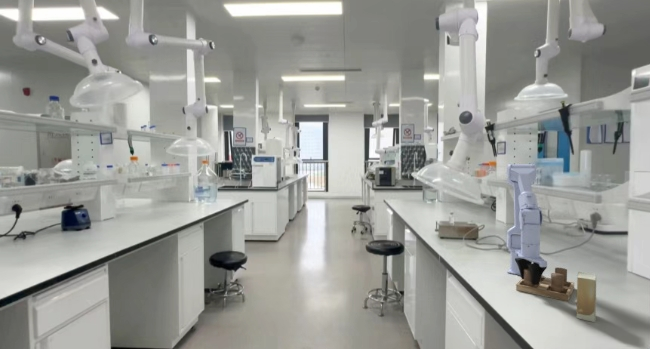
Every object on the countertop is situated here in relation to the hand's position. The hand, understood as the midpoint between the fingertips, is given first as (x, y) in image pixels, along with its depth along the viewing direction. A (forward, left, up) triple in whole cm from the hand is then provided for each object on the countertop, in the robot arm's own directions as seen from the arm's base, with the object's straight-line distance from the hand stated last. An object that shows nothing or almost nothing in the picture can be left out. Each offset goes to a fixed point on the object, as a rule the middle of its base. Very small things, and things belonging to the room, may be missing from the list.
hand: (529, 281), depth 121 cm
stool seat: (-4, +4, -3) cm, 6 cm away
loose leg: (0, 0, -3) cm, 3 cm away
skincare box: (+14, +17, -3) cm, 22 cm away
